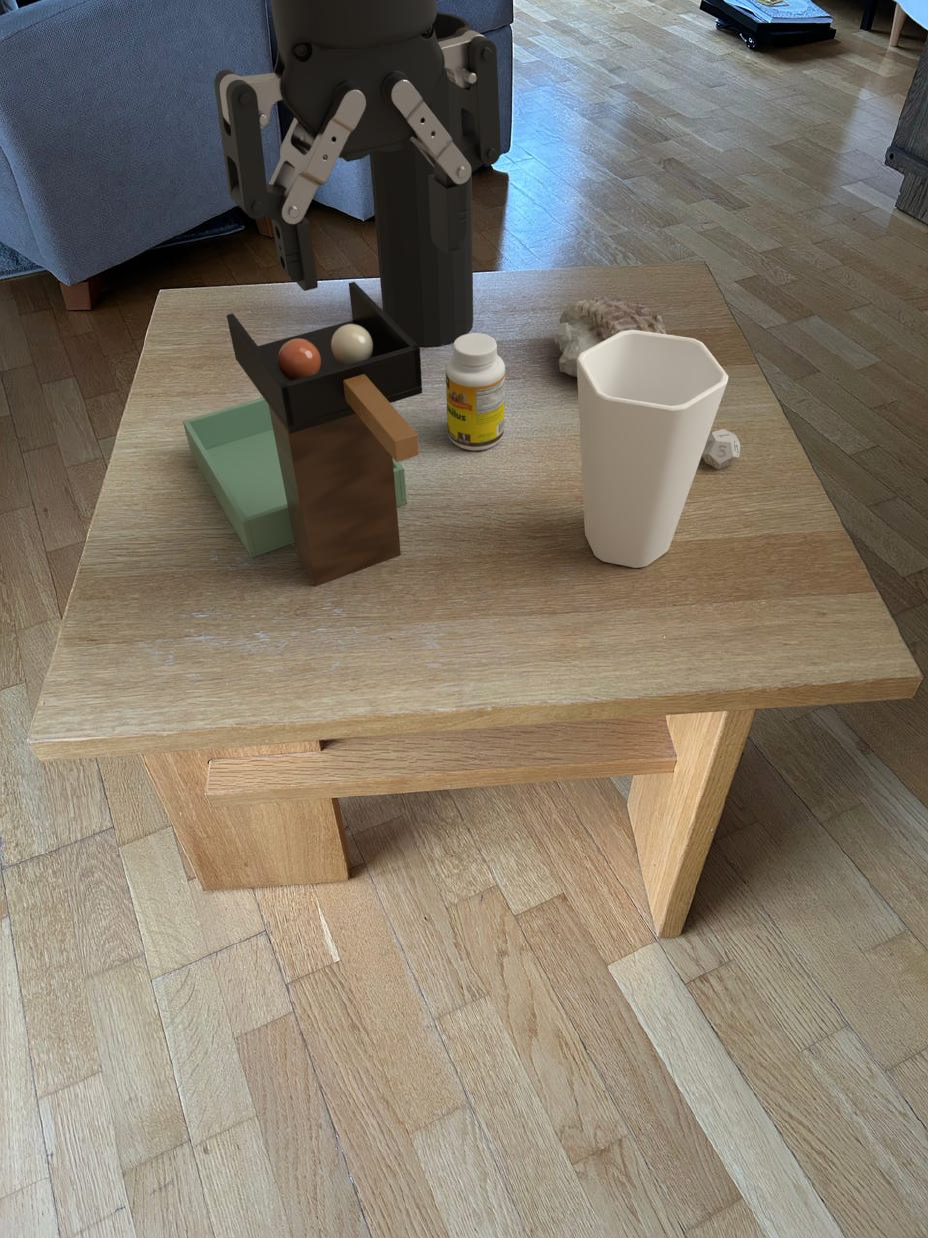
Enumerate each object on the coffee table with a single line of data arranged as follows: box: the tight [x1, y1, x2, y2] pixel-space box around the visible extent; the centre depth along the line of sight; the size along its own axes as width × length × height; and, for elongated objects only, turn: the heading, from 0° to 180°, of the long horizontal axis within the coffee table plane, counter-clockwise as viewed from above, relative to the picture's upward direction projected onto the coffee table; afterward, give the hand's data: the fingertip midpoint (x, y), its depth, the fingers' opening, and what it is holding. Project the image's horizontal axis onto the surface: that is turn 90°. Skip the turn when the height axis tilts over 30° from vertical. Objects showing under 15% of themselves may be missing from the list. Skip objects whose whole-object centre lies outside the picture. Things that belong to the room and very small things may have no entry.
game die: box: [701, 428, 741, 470], centre depth 90 cm, size 4×4×3 cm
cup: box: [576, 330, 729, 569], centre depth 77 cm, size 11×10×17 cm
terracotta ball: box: [278, 338, 321, 381], centre depth 66 cm, size 3×3×3 cm
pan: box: [226, 281, 423, 463], centre depth 65 cm, size 10×19×4 cm, turn 28°
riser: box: [269, 406, 402, 587], centre depth 76 cm, size 8×4×18 cm, turn 118°
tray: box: [182, 397, 408, 558], centre depth 88 cm, size 15×17×4 cm
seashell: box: [553, 295, 668, 378], centre depth 100 cm, size 14×9×10 cm
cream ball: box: [331, 324, 373, 366], centre depth 68 cm, size 3×3×3 cm
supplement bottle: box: [445, 332, 506, 451], centre depth 90 cm, size 6×6×10 cm
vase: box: [369, 11, 474, 348], centre depth 99 cm, size 10×10×30 cm
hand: (377, 265), depth 53 cm, fingers open, 8 cm apart
